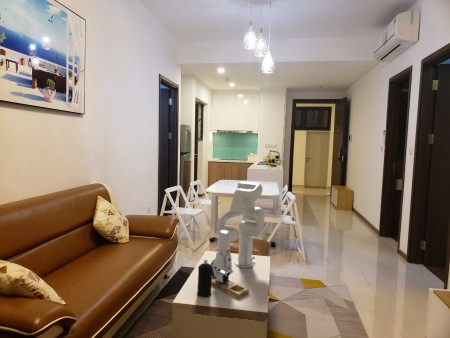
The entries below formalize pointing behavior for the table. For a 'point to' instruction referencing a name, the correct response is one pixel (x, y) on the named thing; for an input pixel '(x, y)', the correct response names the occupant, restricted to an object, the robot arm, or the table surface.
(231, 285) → the wooden slotted tray
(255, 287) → the table surface
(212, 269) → the gray curved box
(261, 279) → the table surface
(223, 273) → the grey rectangular block
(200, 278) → the aerosol can
